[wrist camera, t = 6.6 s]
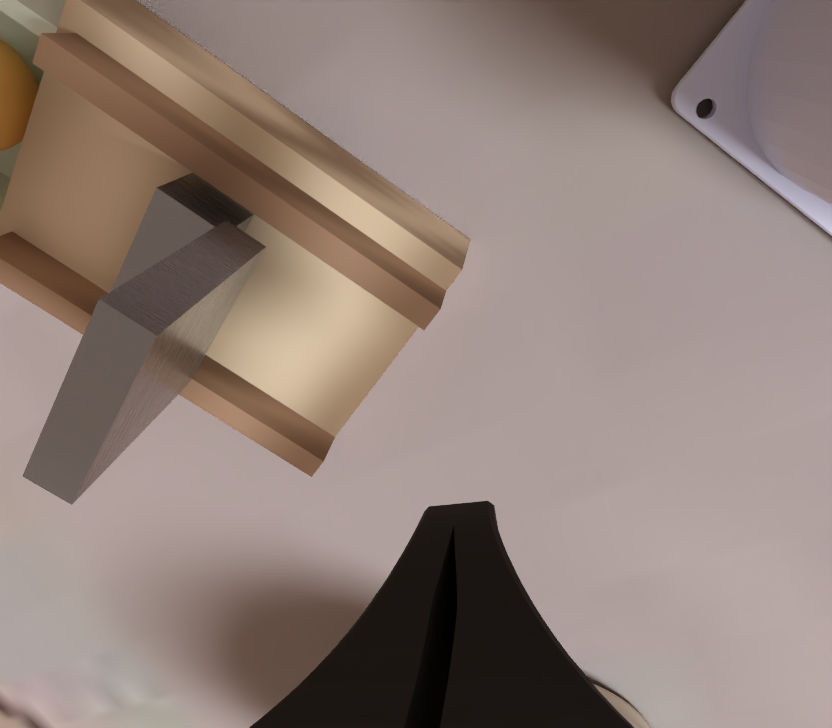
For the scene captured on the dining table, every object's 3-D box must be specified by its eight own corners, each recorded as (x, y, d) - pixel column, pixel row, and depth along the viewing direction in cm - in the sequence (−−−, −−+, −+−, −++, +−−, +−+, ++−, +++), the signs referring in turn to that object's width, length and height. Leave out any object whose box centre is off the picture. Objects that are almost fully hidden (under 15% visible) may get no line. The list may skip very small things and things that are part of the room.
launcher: (470, 239, 21) (457, 287, 17) (335, 420, 25) (300, 491, 21) (132, -3, 19) (31, -12, 15) (46, 235, 23) (-50, 275, 19)
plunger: (287, 229, 18) (157, 335, 12) (214, 357, 21) (72, 504, 14) (195, 166, 18) (7, 241, 11) (131, 305, 20) (-54, 431, 14)
